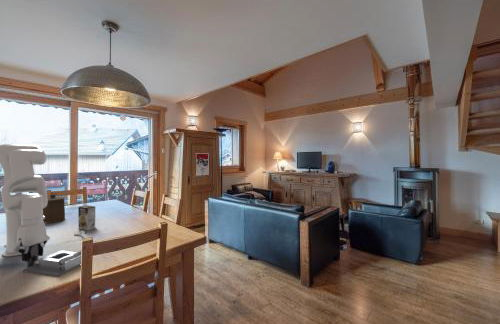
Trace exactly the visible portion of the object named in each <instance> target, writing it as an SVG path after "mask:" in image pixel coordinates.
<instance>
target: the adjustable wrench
mask: <svg viewBox="0 0 500 324" xmlns="http://www.w3.org/2000/svg"><path fill="white" fill-rule="evenodd" d="M73 236H74V237H81V238H83V239H84V238H85V237H90V236H89V235H87V234H86V230H79V232H74V233H73Z"/></svg>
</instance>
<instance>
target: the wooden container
mask: <svg viewBox="0 0 500 324" xmlns="http://www.w3.org/2000/svg"><path fill="white" fill-rule="evenodd" d="M47 199H48V204H47V206H46V207H45V208H43V216H45V219H43V222H44V223H45V224H51V223H52V224H53V223H59V222H62V221H64V220H66V209H65V208H66V206H65V205H66V204H65V197H63V196H56V194H55V193H50V195H49V197H47Z"/></svg>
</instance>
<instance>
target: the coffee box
mask: <svg viewBox="0 0 500 324" xmlns="http://www.w3.org/2000/svg"><path fill="white" fill-rule="evenodd" d="M77 208H78V229H79V230H82V231H89V230H92V229H95V228H96V206H94V205H81V206H78V207H77Z"/></svg>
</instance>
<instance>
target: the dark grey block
mask: <svg viewBox="0 0 500 324" xmlns="http://www.w3.org/2000/svg"><path fill="white" fill-rule="evenodd" d="M27 253H29V261H28V262H27V263H26V265H27V266H26V268H28V267H31V266H33V265H34V262H35V261H37V260H39V259H40V258H39V257H40V256H39V252H38V244H35V245H32V246H29V249H28V252H27Z"/></svg>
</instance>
